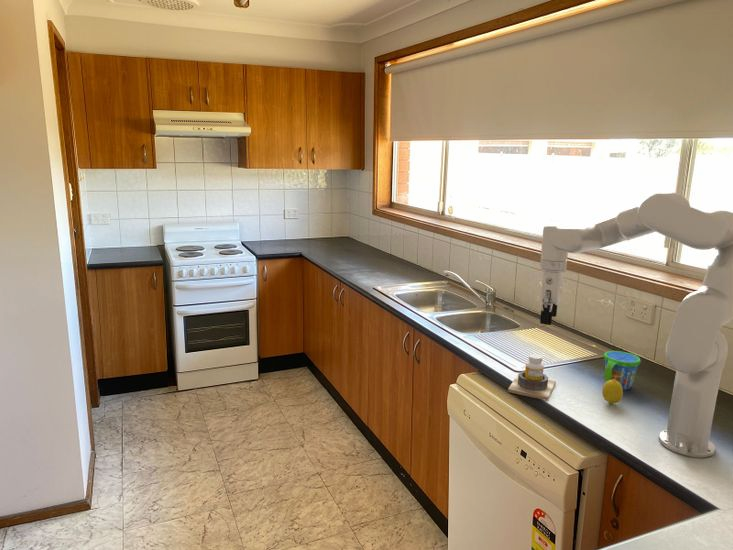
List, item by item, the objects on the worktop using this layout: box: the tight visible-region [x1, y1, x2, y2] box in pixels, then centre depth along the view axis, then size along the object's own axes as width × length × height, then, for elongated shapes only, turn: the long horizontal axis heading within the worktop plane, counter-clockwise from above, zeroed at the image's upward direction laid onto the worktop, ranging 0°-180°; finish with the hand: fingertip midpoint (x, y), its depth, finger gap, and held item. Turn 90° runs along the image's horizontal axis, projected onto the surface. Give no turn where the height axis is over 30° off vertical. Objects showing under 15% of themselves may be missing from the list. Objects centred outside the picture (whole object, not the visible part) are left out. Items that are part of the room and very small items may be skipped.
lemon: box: [601, 379, 624, 405], centre depth 165 cm, size 6×6×8 cm
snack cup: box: [603, 350, 642, 391], centre depth 178 cm, size 16×10×10 cm
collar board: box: [507, 370, 557, 401], centre depth 175 cm, size 14×12×4 cm
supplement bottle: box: [524, 353, 545, 380], centre depth 174 cm, size 5×5×10 cm
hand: (548, 320), depth 170 cm, fingers open, 9 cm apart
